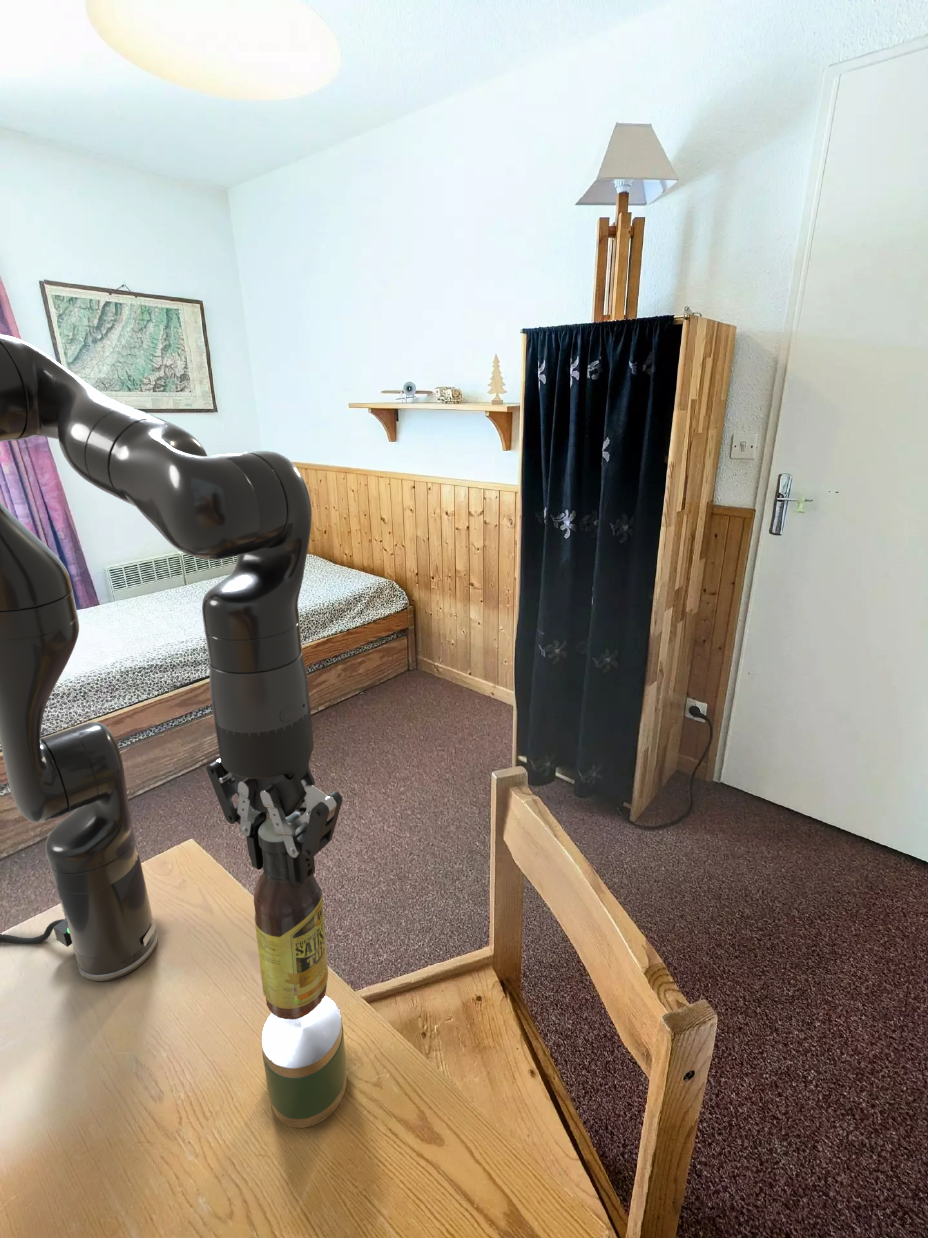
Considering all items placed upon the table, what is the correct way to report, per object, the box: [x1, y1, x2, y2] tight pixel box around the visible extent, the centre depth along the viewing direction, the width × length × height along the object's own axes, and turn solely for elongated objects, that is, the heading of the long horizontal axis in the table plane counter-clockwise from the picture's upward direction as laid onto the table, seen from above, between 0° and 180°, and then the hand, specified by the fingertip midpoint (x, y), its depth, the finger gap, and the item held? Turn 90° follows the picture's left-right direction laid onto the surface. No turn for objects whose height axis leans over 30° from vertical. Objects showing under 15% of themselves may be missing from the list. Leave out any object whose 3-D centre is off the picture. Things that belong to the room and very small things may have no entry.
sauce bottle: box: [253, 813, 329, 1019], centre depth 57 cm, size 7×6×20 cm
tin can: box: [261, 994, 348, 1129], centre depth 64 cm, size 8×8×9 cm
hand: (282, 871), depth 55 cm, fingers closed on sauce bottle, 4 cm apart
